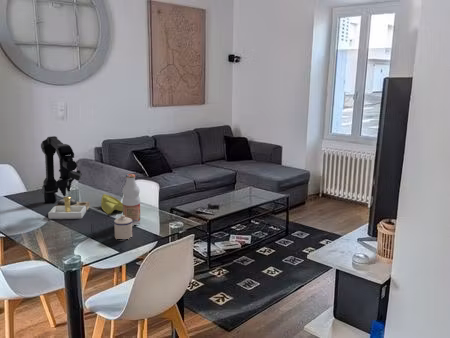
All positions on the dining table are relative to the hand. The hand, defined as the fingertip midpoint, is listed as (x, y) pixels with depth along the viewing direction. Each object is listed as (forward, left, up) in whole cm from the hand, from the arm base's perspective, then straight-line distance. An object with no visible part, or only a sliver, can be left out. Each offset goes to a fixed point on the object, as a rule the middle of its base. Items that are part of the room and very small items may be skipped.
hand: (66, 193), depth 233 cm
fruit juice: (+38, -16, -13) cm, 43 cm away
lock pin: (0, -1, -12) cm, 12 cm away
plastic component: (+24, +10, -13) cm, 29 cm away
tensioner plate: (0, +11, -13) cm, 17 cm away
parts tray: (0, -1, -13) cm, 13 cm away
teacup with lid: (+35, -34, -13) cm, 51 cm away
